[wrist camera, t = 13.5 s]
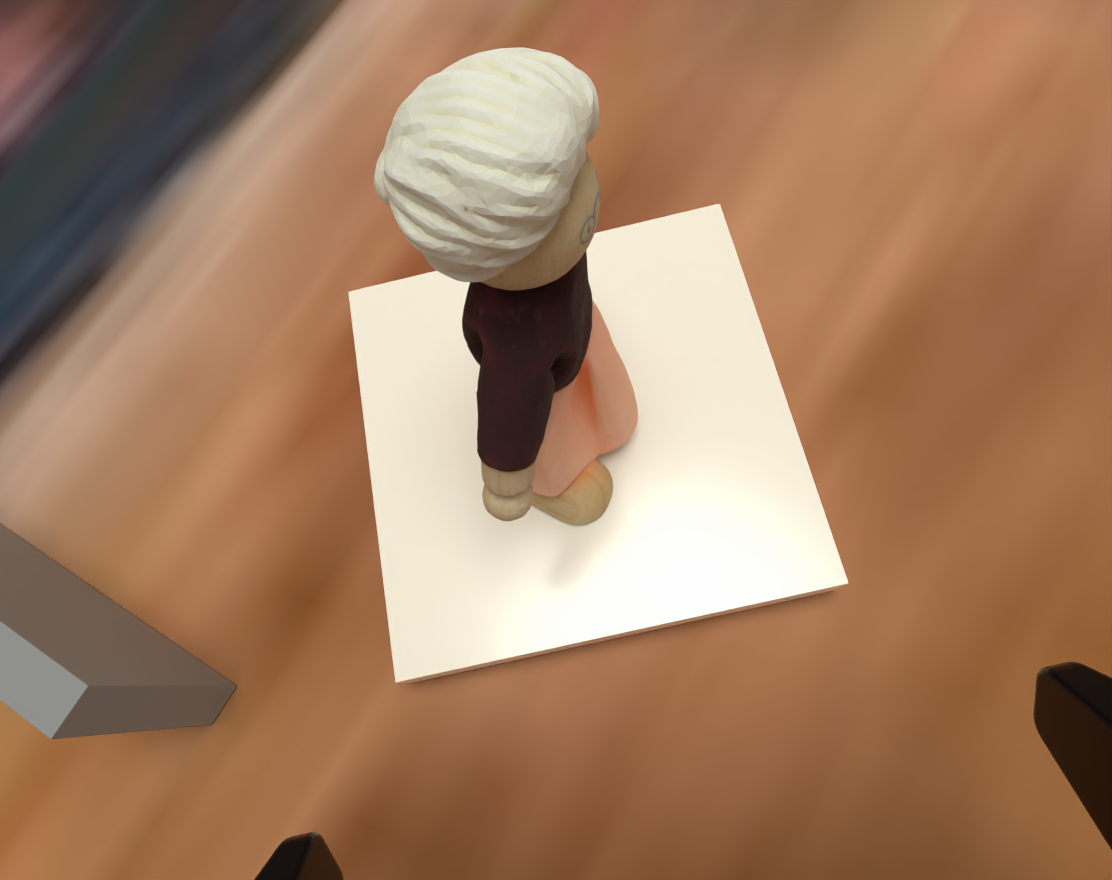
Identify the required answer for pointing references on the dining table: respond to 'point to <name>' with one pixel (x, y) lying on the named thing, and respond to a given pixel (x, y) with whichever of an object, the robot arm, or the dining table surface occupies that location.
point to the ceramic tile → (636, 467)
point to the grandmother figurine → (518, 268)
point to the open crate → (90, 657)
